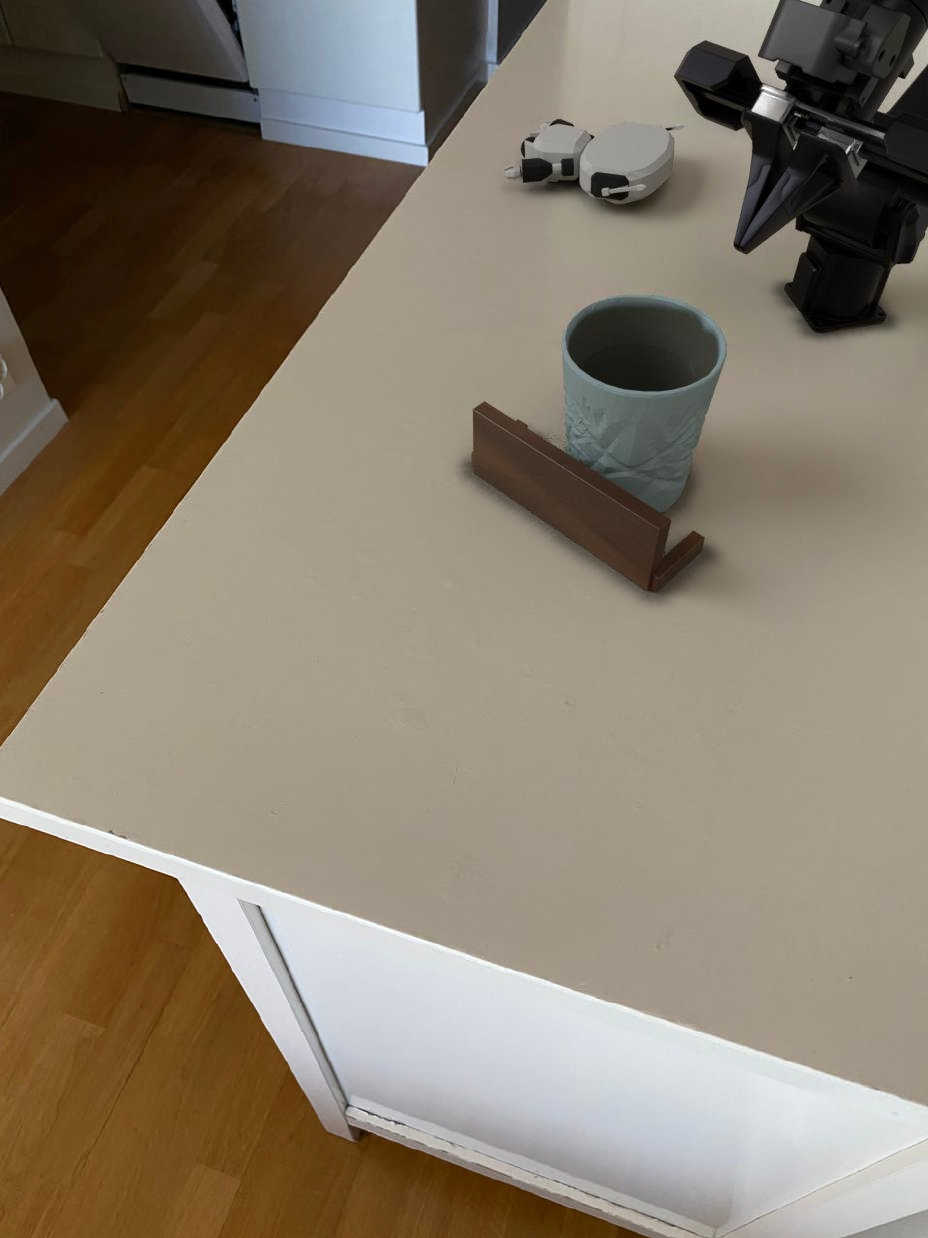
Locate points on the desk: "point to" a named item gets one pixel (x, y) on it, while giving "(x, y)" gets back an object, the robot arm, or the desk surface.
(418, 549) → the desk surface
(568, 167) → the robot toy
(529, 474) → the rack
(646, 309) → the drinking glass
